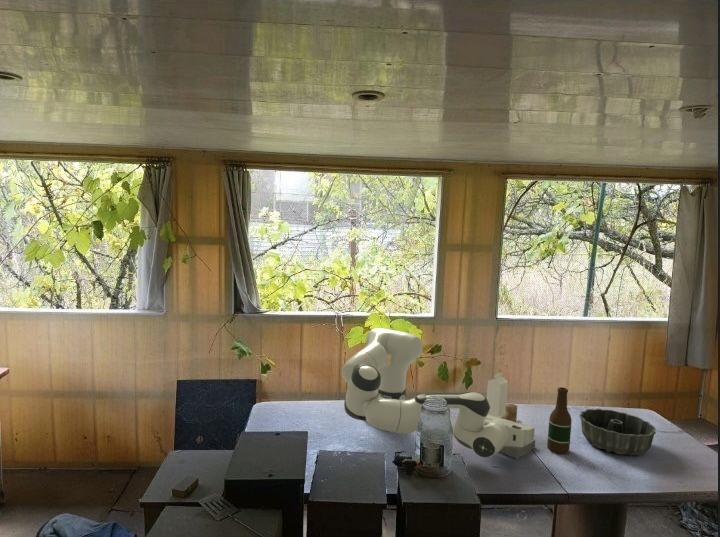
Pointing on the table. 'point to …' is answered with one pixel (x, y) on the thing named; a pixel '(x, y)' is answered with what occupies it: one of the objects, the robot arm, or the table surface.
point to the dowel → (510, 412)
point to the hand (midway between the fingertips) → (511, 420)
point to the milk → (497, 395)
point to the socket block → (518, 449)
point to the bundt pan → (617, 431)
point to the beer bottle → (559, 425)
